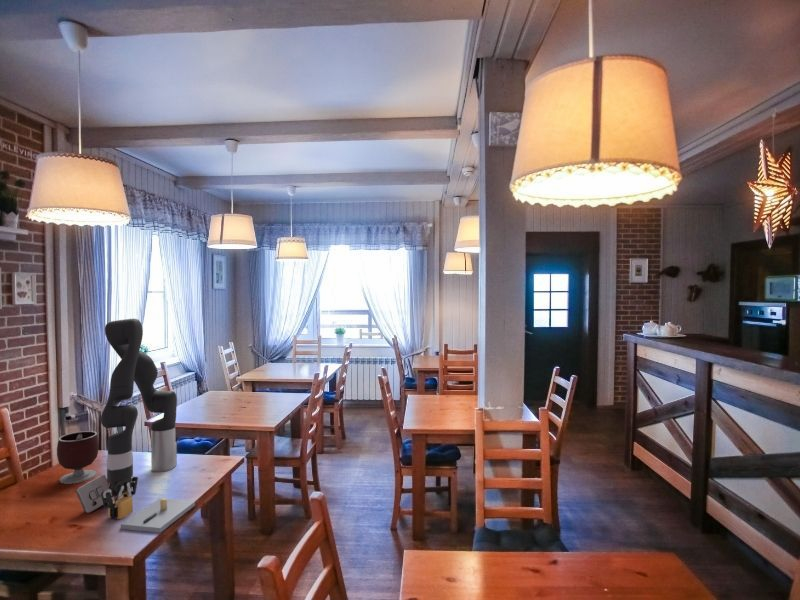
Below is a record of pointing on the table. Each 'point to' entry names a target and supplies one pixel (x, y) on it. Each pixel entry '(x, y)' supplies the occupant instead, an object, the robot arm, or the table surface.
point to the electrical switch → (92, 493)
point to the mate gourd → (77, 455)
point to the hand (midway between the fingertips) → (120, 513)
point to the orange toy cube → (123, 507)
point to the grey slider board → (158, 515)
